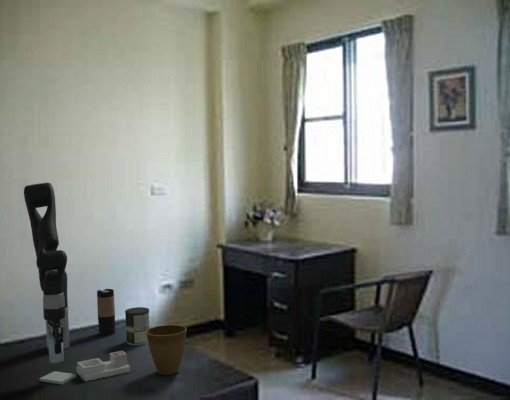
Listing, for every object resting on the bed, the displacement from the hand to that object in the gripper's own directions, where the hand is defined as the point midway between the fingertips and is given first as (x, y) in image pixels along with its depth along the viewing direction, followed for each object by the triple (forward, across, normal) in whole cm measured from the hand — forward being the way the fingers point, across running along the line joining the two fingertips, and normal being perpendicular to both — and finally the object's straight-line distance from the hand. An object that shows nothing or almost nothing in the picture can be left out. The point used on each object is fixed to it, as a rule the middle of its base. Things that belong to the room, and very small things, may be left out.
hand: (56, 351), depth 225 cm
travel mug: (+10, -47, +34) cm, 59 cm away
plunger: (+8, +3, +22) cm, 24 cm away
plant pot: (+10, +17, +36) cm, 41 cm away
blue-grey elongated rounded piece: (+3, 0, 0) cm, 3 cm away
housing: (+10, +3, +16) cm, 19 cm away
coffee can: (+10, -26, +41) cm, 50 cm away
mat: (+10, 0, 0) cm, 10 cm away
